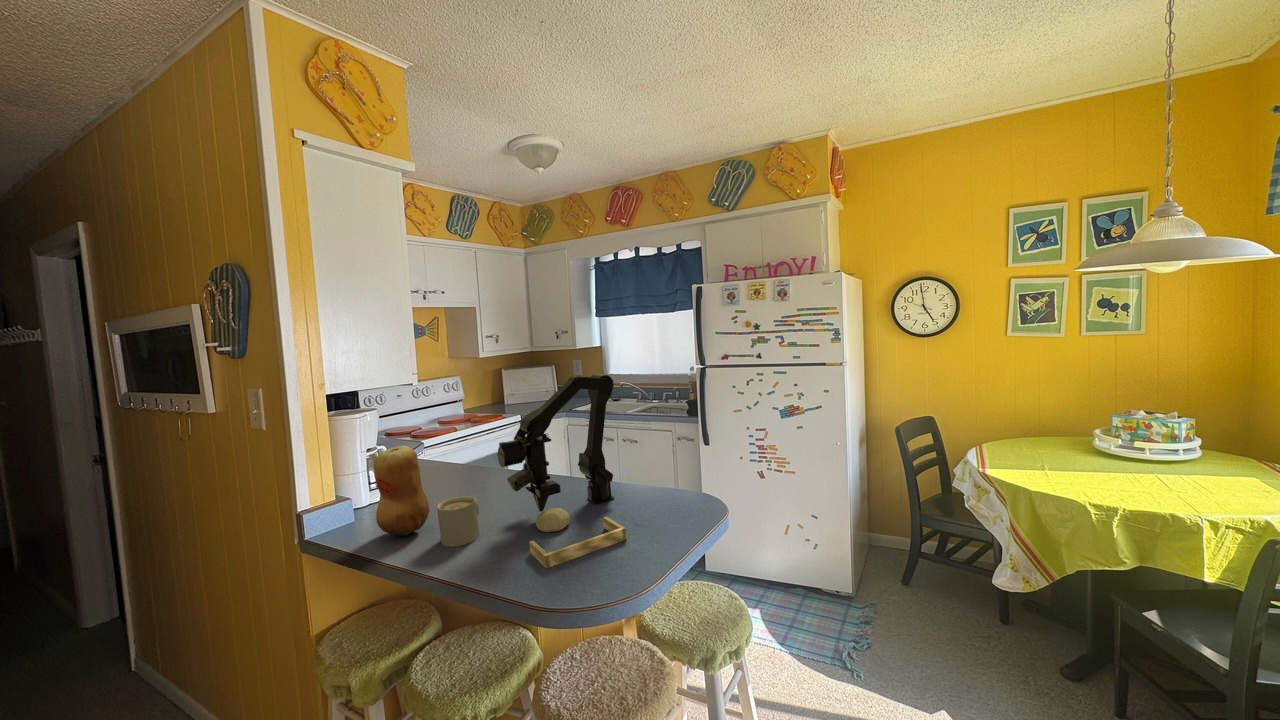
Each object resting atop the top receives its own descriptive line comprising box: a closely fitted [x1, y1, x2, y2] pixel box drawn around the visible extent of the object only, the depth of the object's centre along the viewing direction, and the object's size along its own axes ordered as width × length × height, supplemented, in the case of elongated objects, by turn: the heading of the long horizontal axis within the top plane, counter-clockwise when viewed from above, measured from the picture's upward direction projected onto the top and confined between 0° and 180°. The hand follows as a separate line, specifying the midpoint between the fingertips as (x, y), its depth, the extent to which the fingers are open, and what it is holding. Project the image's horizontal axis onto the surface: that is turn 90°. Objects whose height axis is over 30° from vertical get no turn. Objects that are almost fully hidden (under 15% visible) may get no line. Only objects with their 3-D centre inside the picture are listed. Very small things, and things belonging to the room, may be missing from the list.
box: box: [529, 516, 627, 569], centre depth 127 cm, size 22×10×3 cm, turn 123°
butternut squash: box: [373, 445, 430, 537], centre depth 143 cm, size 14×13×25 cm
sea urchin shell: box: [535, 507, 571, 533], centre depth 141 cm, size 9×8×8 cm
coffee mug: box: [436, 495, 481, 548], centre depth 139 cm, size 13×10×10 cm
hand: (541, 511), depth 148 cm, fingers closed
